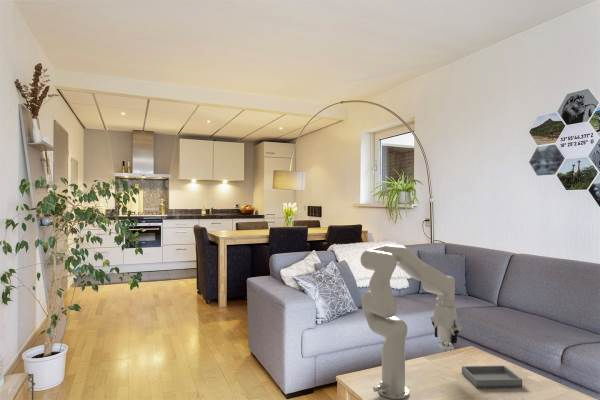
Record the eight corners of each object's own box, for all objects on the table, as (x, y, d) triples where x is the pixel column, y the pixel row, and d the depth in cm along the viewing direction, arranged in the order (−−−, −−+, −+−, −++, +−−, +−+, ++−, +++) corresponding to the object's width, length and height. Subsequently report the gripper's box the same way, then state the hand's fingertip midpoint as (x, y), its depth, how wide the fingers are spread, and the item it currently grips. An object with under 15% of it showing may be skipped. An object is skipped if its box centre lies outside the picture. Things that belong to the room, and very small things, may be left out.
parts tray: (476, 388, 165) (476, 380, 165) (461, 373, 179) (461, 366, 179) (522, 387, 165) (522, 379, 165) (504, 372, 179) (504, 365, 179)
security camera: (450, 344, 182) (450, 323, 182) (455, 349, 175) (455, 327, 175) (436, 343, 183) (437, 322, 183) (440, 349, 176) (441, 326, 176)
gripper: (425, 299, 185) (425, 335, 185) (456, 308, 170) (456, 347, 170) (436, 297, 189) (436, 333, 189) (467, 306, 174) (467, 344, 174)
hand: (445, 339), depth 179 cm, fingers closed on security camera, 8 cm apart
